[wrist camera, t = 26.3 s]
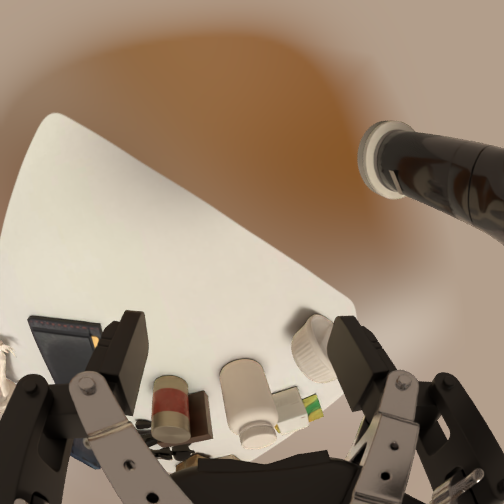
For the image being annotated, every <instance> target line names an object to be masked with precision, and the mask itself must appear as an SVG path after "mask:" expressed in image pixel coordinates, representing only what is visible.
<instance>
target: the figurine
mask: <svg viewBox="0 0 504 504" xmlns="http://www.w3.org/2000/svg"><path fill="white" fill-rule="evenodd" d="M7 347H9V346H7V345H4V344H3V342H2V341H1V340H0V414H3V413H4V411H5V408H6V406H7V404H8V402H9V400H10V397H11V395H12V393H13V391H14V389H15V387H16V384H15V383H14V382H13V381H11V380H9V379H7V378H6V371H5V368H6V356H5V354H4V353H3V351H4V352H6V353H8V351H7V350H9V351H11V350H10V349H9V348H11V347H9V348H7ZM11 349H12V348H11ZM12 350H13V349H12ZM11 352H12V351H11ZM12 353H13V352H12ZM13 354H14V353H13ZM14 355H15V354H14ZM15 357H16V356H15Z"/></svg>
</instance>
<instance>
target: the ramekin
mask: <svg viewBox="0 0 504 504" xmlns="http://www.w3.org/2000/svg"><path fill="white" fill-rule="evenodd" d="M332 327H333V323H332V322H331V321H329V320H328V319H327V318H325V317H324V316H321V315H317V314H315V315H313V316H311V317H310V318H309V319H308V320H307V323H306V324H305V325H304V326H303V327H302V328H301V329H300V330H299V331H298V332H297V333H296V334H295V335H294V337H293V339H292V343H291V350H292V355H293V357H294V360H295V362H296V364H297V366H298V367H299V368H300V370H301V371H302V372H303V373H304V375H305V376H306V377H308V378H309V379H310V380H312V381H314V382H317V383H327V382H330V381H333V380H336V379H338V378H337V376H336V374H335V372H334V369H333V367H332V365H331V363H330V360H329V358H328V355H327V343H328V340H329V337H330V334H331V330H332Z"/></svg>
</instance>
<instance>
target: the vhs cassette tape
mask: <svg viewBox="0 0 504 504" xmlns="http://www.w3.org/2000/svg"><path fill="white" fill-rule="evenodd" d="M70 456H72V457H74V458H75V459H77V460H79V461H81V462H83V463H84V464H86V465H88V466H90V467H92V468H93V469H100V468H101V466H100V464H99V462H98V460H97V458H96V456H95V454H94V453H93V451H92V449H91V446H90V444H89V442H88V440H87V438H74V440H73V444H72V448H71V453H70Z"/></svg>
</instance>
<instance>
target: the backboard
mask: <svg viewBox="0 0 504 504" xmlns="http://www.w3.org/2000/svg"><path fill="white" fill-rule="evenodd" d="M188 398H189V412H190V431H191V437H190V439H189V440H188V441H186V442H183V443H177V444H171V443H164V442H161V441H159V440H157V444H159V445H160V446H161V447H163V448H164V447H171V446H177V445H183V444H189V443H194V442H199V441H204V440H209V439H213V433H212V426H211V418H210V409H209V401H208V395H207V394H206V393H205V391H201V392H197V393H193V394H189V395H188Z"/></svg>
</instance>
